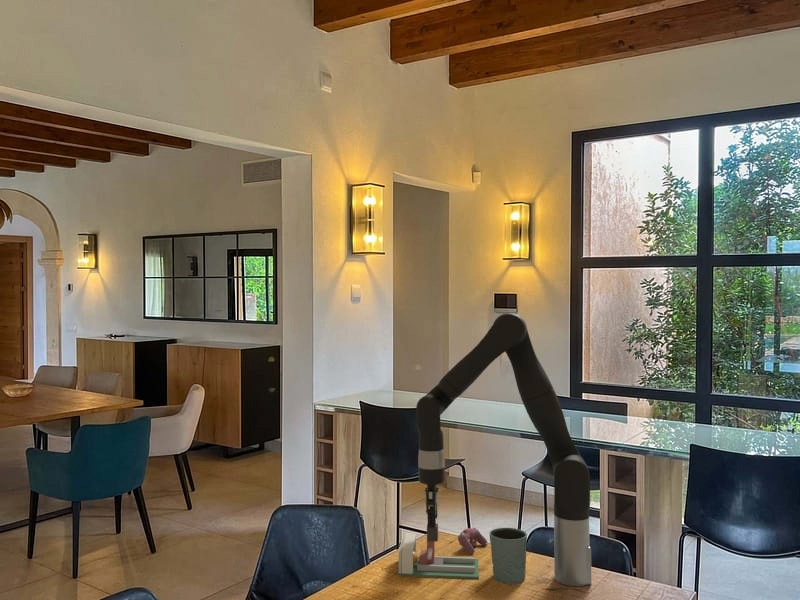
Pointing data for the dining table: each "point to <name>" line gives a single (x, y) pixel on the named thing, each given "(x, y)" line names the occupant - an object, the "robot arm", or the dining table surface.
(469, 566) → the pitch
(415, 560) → the ball
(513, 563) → the green cup
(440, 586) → the dining table surface
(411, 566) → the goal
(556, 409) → the robot arm
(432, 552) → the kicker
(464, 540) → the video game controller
